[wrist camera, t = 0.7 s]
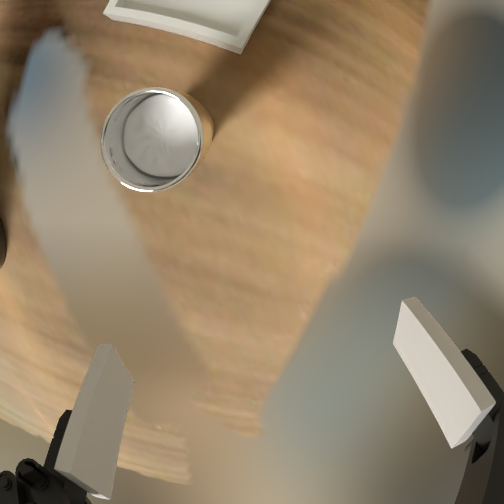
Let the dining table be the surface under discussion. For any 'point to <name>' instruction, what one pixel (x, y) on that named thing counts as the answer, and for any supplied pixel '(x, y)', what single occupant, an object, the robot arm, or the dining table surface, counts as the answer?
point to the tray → (195, 18)
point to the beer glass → (155, 138)
